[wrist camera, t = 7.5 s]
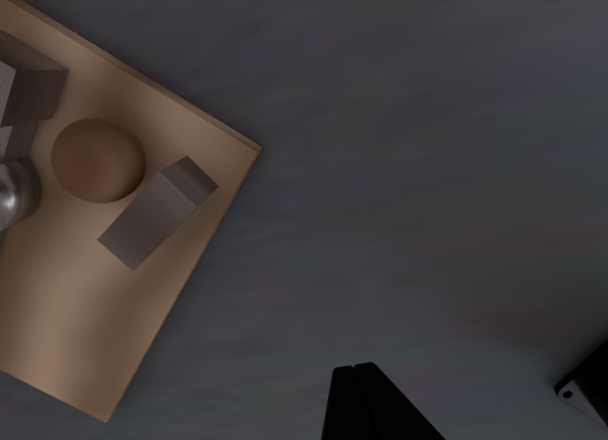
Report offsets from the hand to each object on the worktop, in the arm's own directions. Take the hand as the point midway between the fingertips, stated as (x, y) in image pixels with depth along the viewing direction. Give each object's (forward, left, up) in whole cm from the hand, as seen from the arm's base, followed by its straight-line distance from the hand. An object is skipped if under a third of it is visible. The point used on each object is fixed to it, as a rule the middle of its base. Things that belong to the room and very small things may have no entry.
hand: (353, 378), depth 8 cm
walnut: (+10, +4, -11) cm, 16 cm away
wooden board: (+12, +10, -12) cm, 20 cm away
